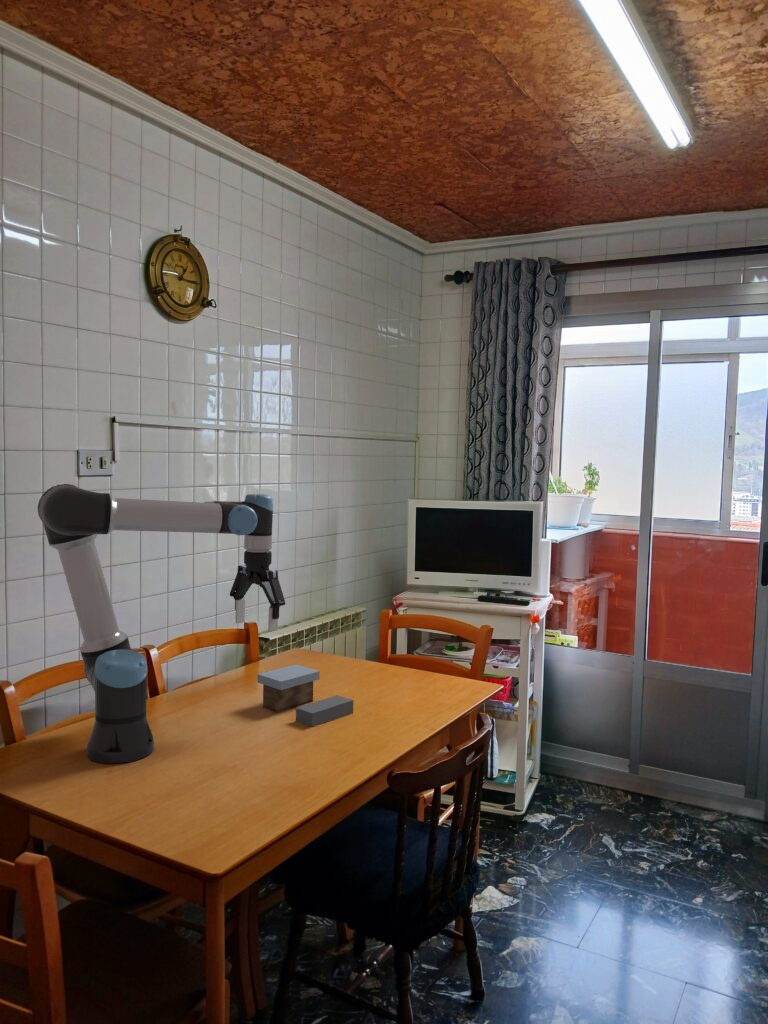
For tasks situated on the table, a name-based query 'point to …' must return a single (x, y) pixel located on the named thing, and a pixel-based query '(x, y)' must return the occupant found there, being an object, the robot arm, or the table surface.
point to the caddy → (287, 697)
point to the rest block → (324, 710)
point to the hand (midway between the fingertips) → (256, 626)
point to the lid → (288, 677)
